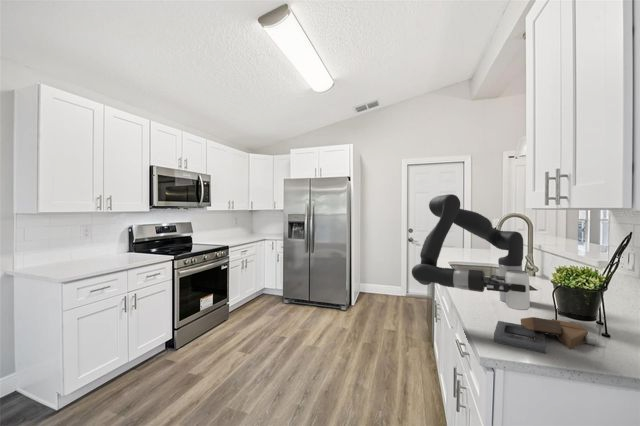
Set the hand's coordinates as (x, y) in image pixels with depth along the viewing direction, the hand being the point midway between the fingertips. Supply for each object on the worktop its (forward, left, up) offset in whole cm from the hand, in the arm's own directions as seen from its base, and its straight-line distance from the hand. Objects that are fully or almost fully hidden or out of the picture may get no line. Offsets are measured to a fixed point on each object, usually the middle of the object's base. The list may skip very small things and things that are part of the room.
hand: (525, 286), depth 88 cm
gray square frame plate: (0, -2, -18) cm, 18 cm away
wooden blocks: (-6, +8, -18) cm, 21 cm away
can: (0, -2, -7) cm, 8 cm away
